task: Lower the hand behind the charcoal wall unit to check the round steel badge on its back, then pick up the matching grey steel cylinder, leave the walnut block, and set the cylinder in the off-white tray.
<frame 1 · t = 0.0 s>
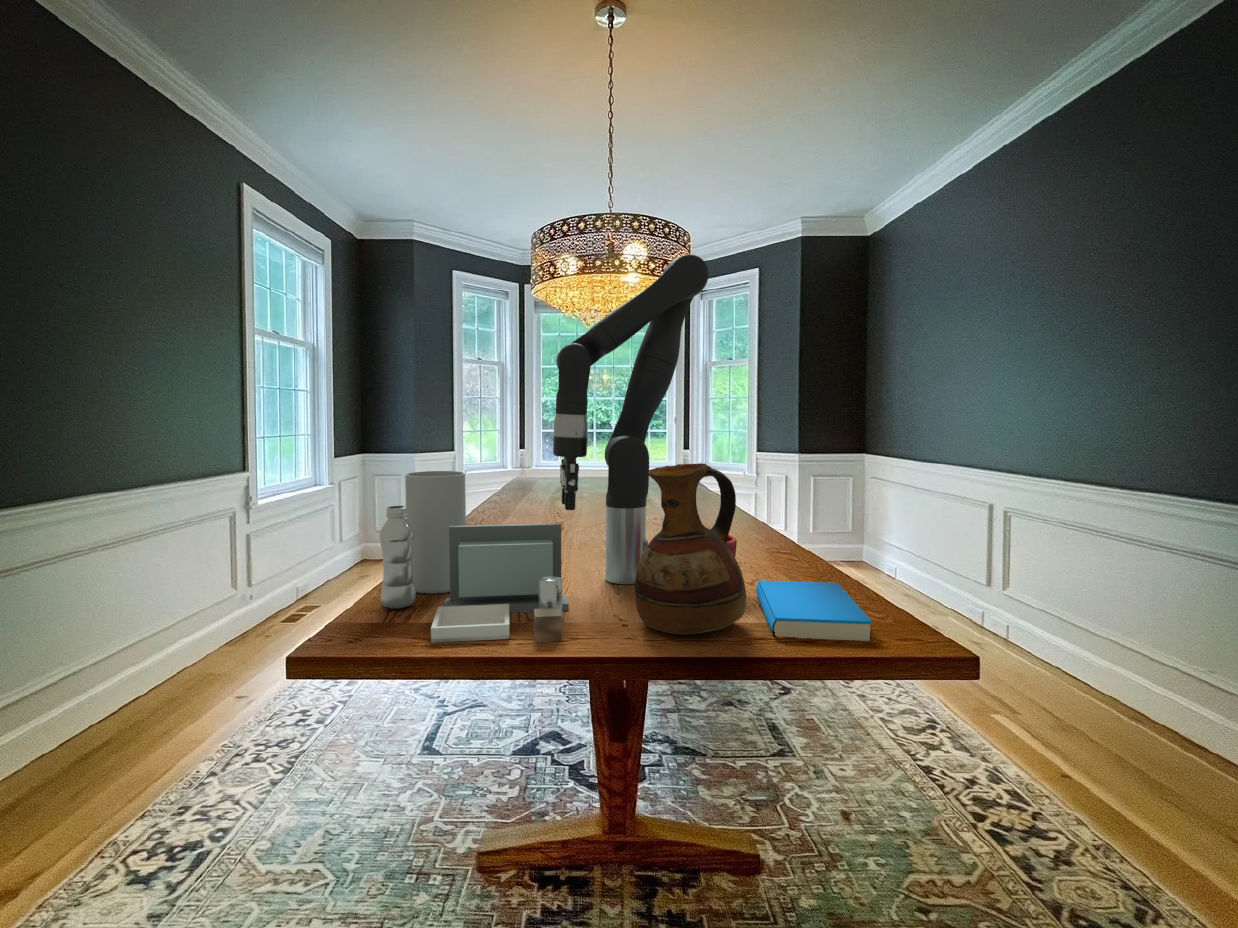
hand: (568, 507, 147), 17 cm above the table, tool pointing down, fingers open, 8 cm apart
walnut block: (547, 637, 114), on the table
book: (807, 619, 126), on the table
ceramic pitcher: (689, 626, 120), on the table
plastic bottle: (398, 608, 130), on the table
tray: (472, 628, 117), on the table
cylinder vase: (437, 587, 144), on the table
wall unit: (506, 607, 130), on the table
plant pot: (705, 589, 144), on the table
steel cylinder: (550, 621, 122), on the table
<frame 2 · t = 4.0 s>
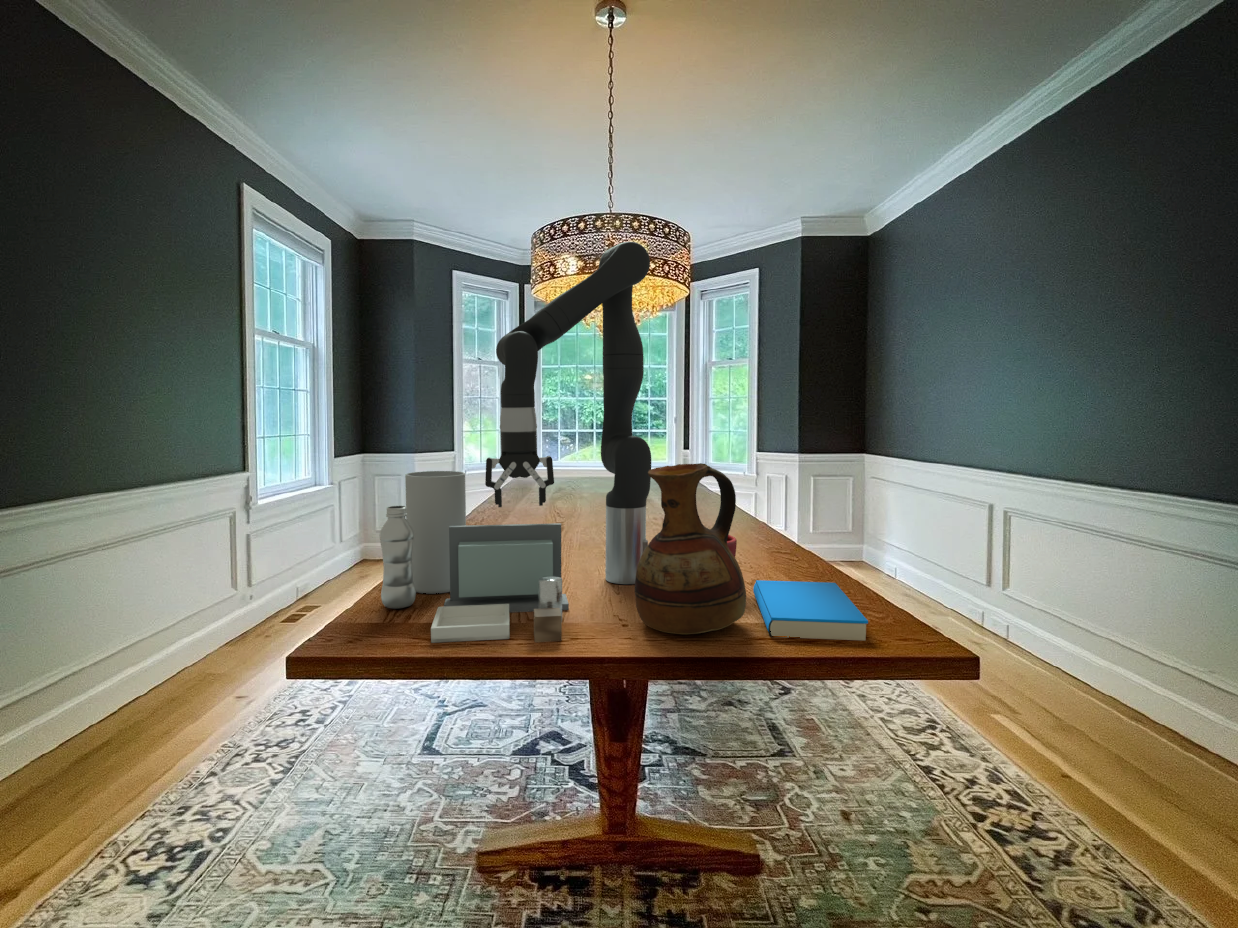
hand: (520, 505, 139), 19 cm above the table, tool pointing down, fingers open, 8 cm apart
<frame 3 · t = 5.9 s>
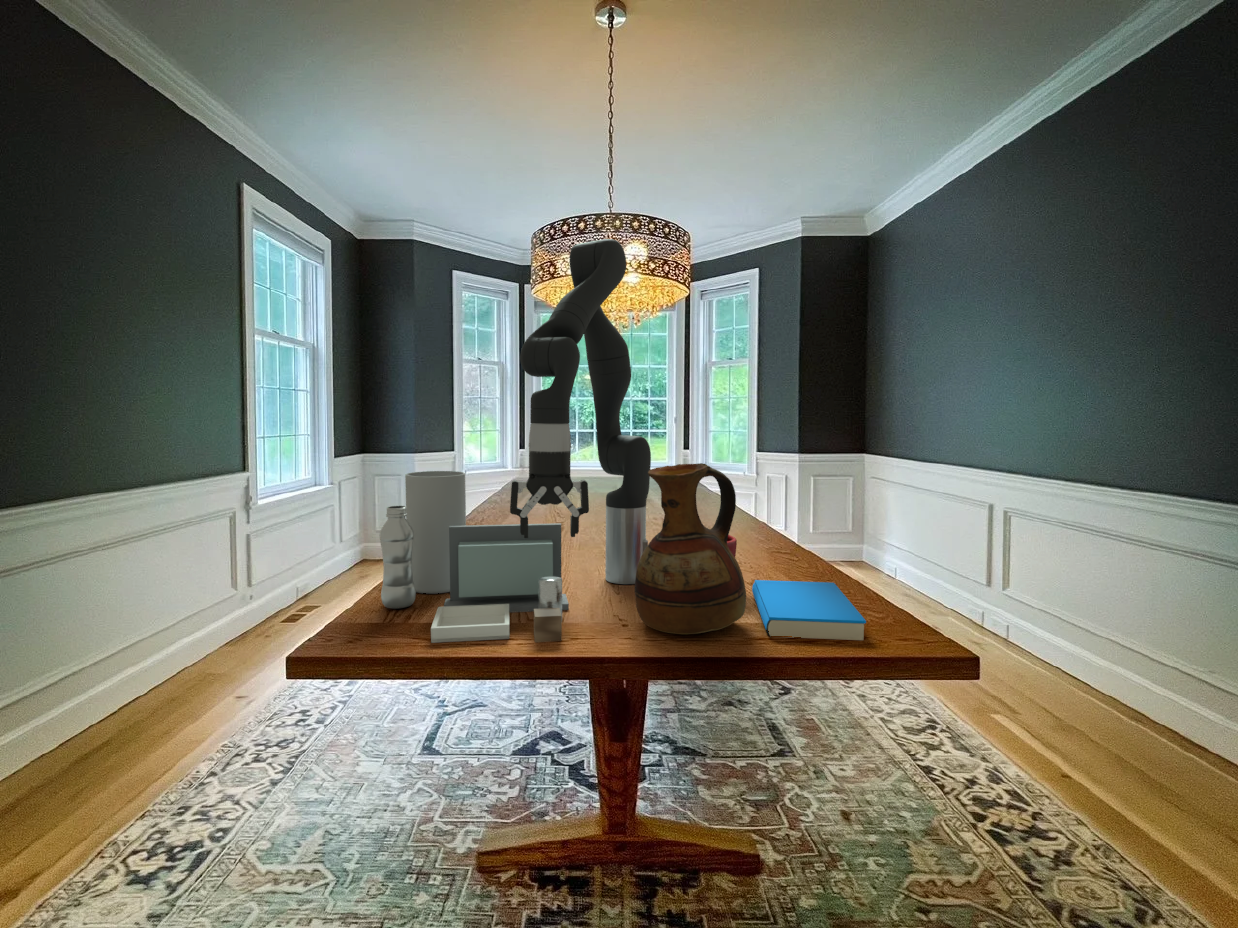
hand: (549, 536, 120), 16 cm above the table, tool pointing down, fingers open, 8 cm apart
nothing on the table moved.
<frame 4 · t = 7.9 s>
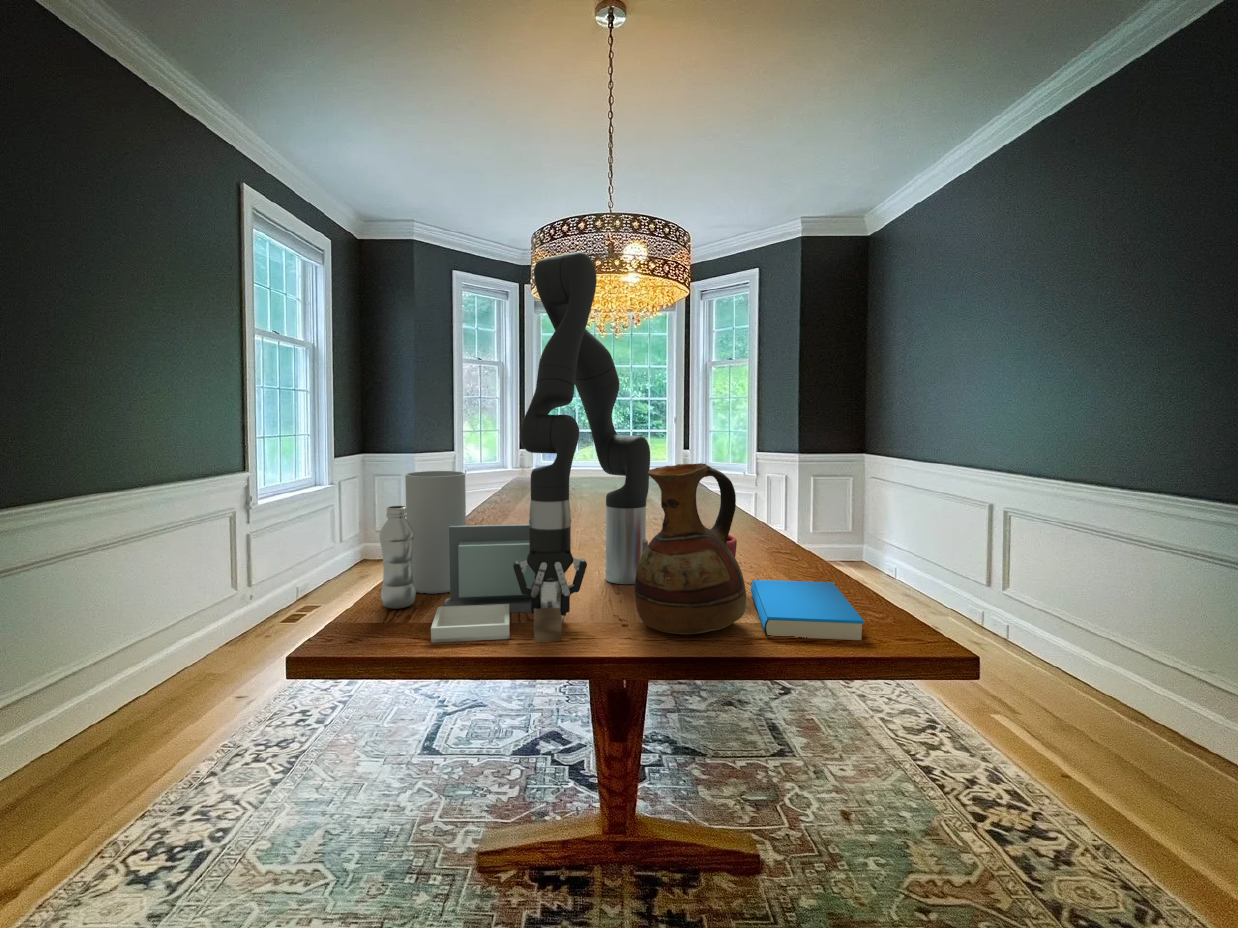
hand: (550, 614, 122), 1 cm above the table, tool pointing down, fingers closed on steel cylinder, 4 cm apart
steel cylinder: (550, 621, 122), on the table, touching gripper
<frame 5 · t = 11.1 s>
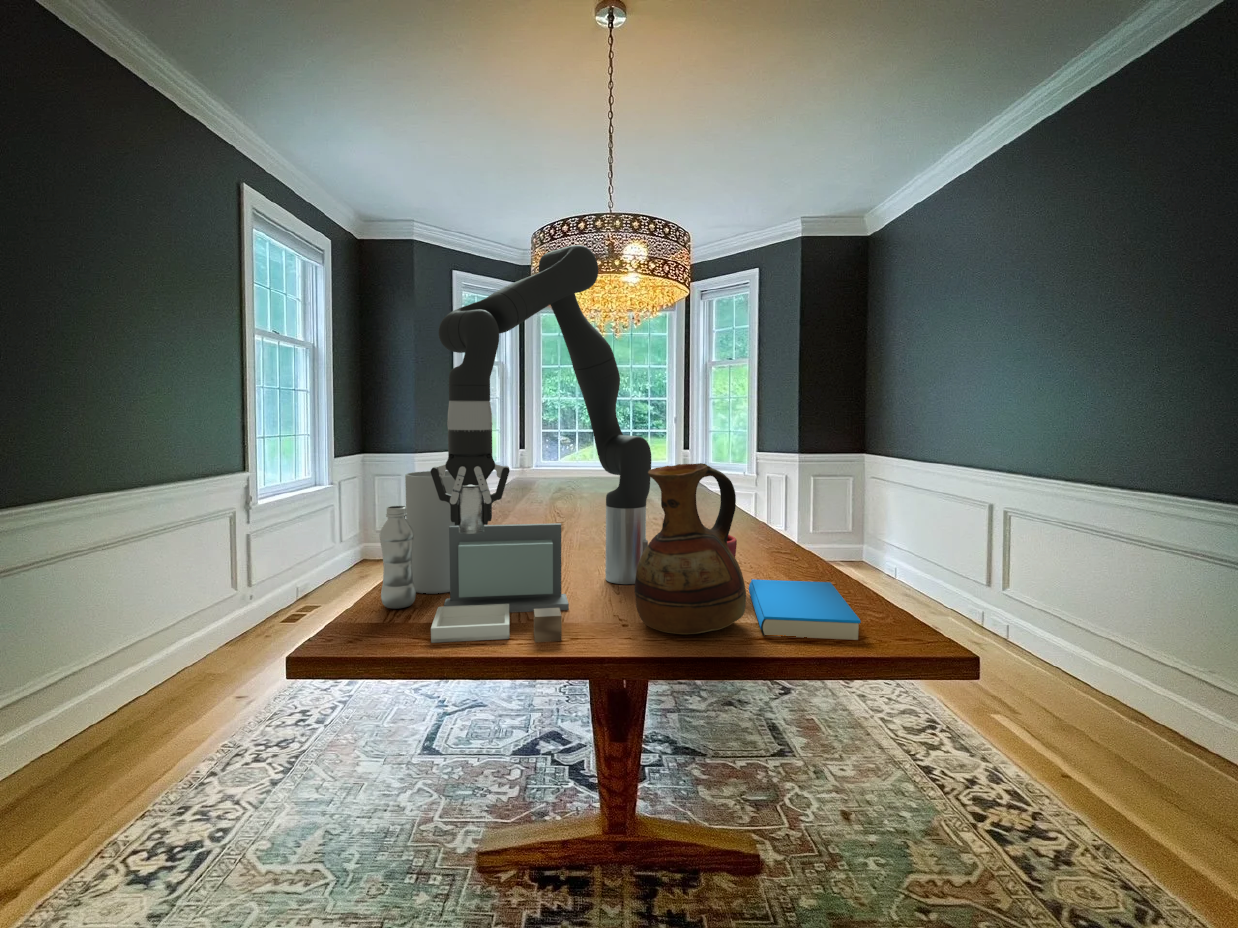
hand: (471, 523, 116), 19 cm above the table, tool pointing down, fingers closed on steel cylinder, 4 cm apart
steel cylinder: (471, 531, 116), point 18 cm above the table, touching gripper
when the fingers open (3 cm above the table, at t = 14.3 s): steel cylinder drops 1 cm, resting on tray.
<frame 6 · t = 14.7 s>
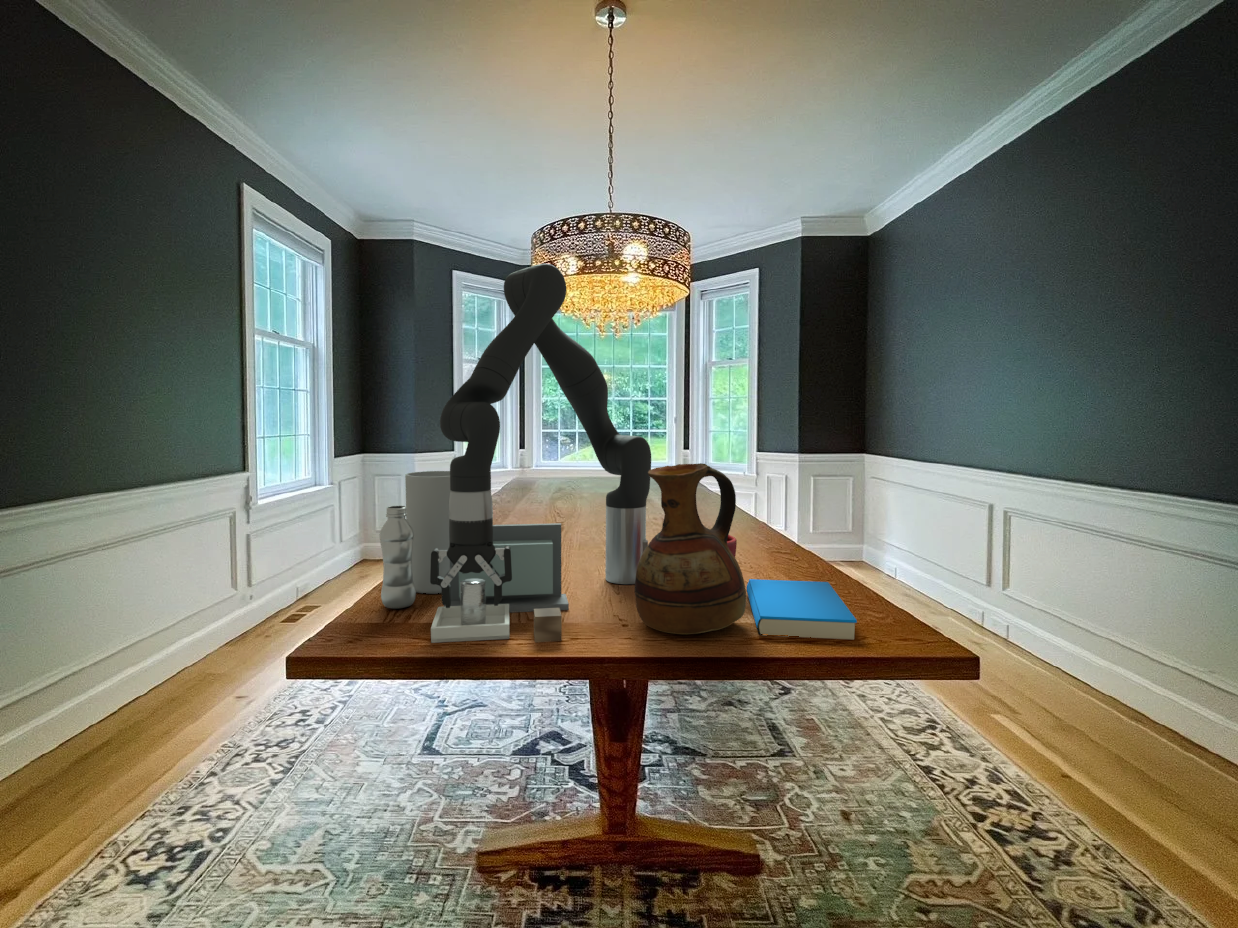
hand: (472, 605, 117), 4 cm above the table, tool pointing down, fingers open, 8 cm apart
steel cylinder: (473, 625, 117), point 1 cm above the table, touching tray
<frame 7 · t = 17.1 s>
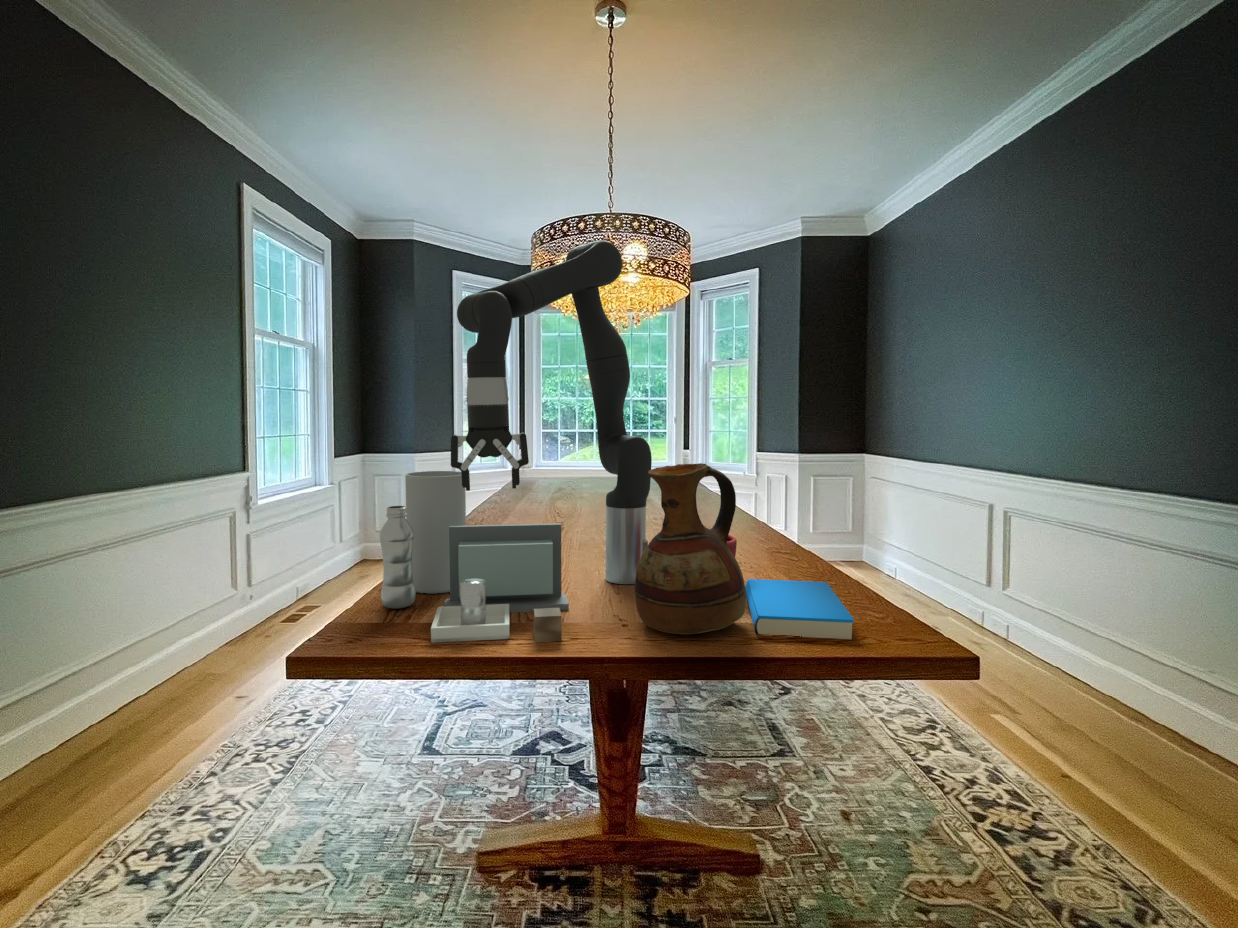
hand: (491, 489, 124), 24 cm above the table, tool pointing down, fingers open, 8 cm apart
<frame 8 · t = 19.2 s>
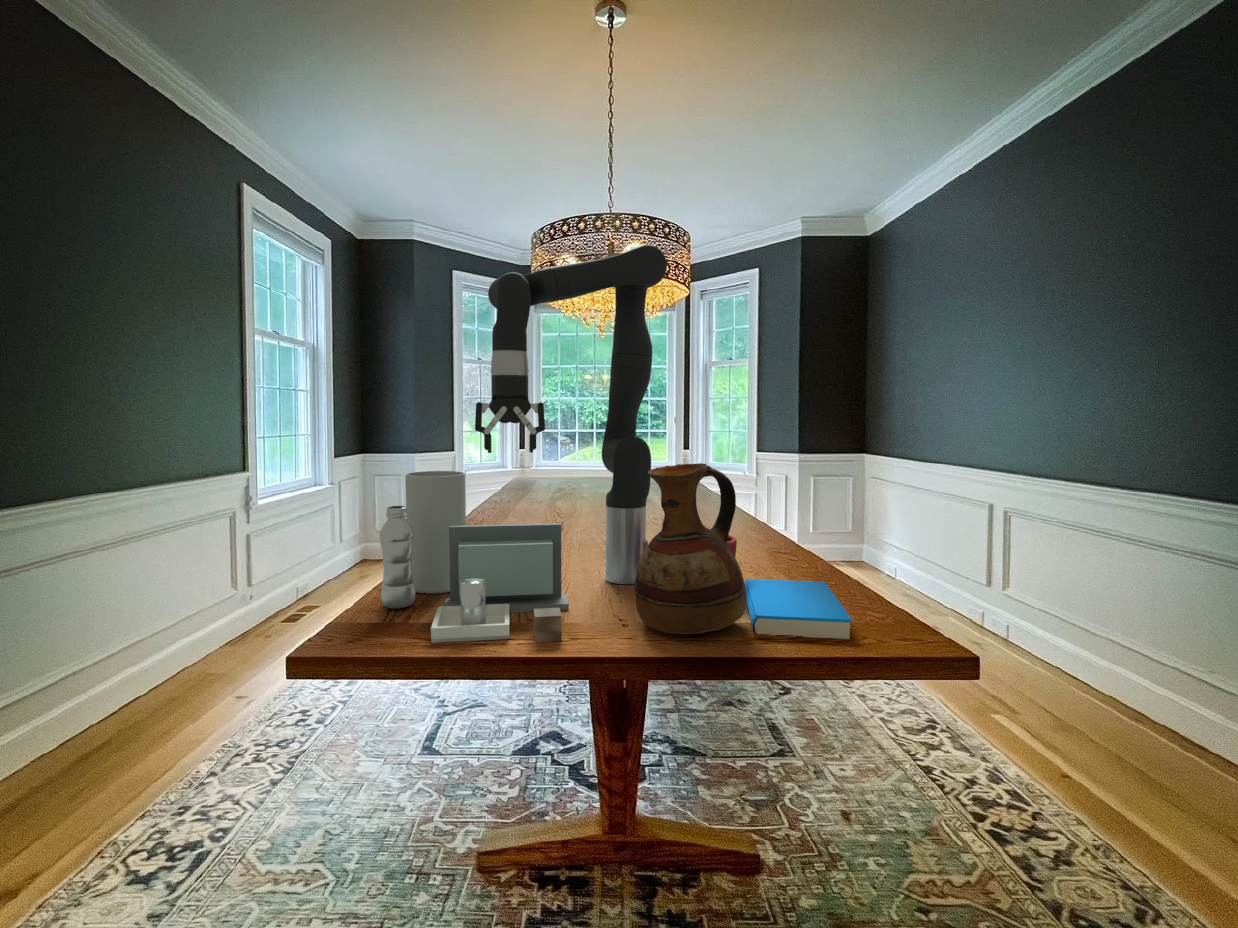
hand: (510, 452, 137), 30 cm above the table, tool pointing down, fingers open, 8 cm apart
at the end: steel cylinder inside the target area on the tray (0.2 cm from its centre), point 0.6 cm above the tray's base; steel cylinder tilted 0°; walnut block moved 0.1 cm from its start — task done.
